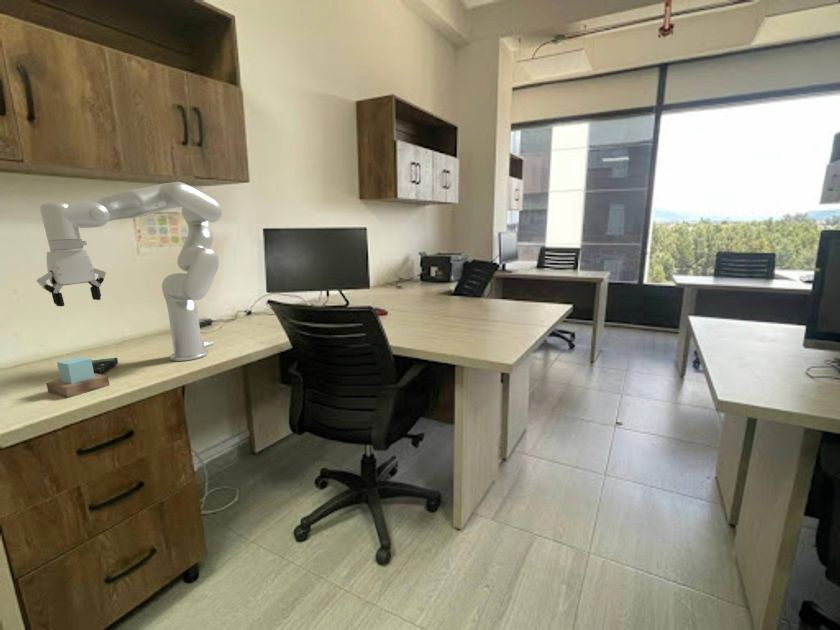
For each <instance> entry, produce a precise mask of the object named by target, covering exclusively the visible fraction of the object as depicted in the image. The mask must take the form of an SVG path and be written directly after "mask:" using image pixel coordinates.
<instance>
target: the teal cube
mask: <svg viewBox="0 0 840 630" xmlns="http://www.w3.org/2000/svg"><path fill="white" fill-rule="evenodd" d="M56 364H57V368H58V373H59V378H60V379H61V381H62V382H66V383H70V384H73V383H77V382H80V381H84V380H87V379H91V378H95V376H94V371H93V366H92V358H89V357H84V356H77V357H73V358H68V359H64V360H60V361H57V362H56Z"/></svg>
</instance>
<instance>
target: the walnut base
mask: <svg viewBox="0 0 840 630" xmlns="http://www.w3.org/2000/svg"><path fill="white" fill-rule="evenodd" d="M94 376H95V378H91V379H87V380H84V381H80V382H77V383H73V384H70V383H66V382H62V381H61V379H56V380H55V379H54V380H52V381H48V382H46V388H47V392H48V393H49V394H51V395H52V394H53V395H56V396H60V397H63V398H65V399H69V398H72V397H76V396H79V395H82V394H86V393H88V392H92V391H96V390H98V389H102V388H105V387H108V386H110V378H109V375H105V374H104V375H101V374H97V373H94Z"/></svg>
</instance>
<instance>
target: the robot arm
mask: <svg viewBox="0 0 840 630" xmlns="http://www.w3.org/2000/svg"><path fill="white" fill-rule="evenodd" d="M176 208H181V214H182V217H183V220H185V223H186V225H187V227H188V228H187V229H188V233H187V236H186V240H185V241H184V243H183V245H182V248H181V250H180V251H179V254H178V257H177V261H176V262H177V266H178V267H179V269H180V270H182V271H183V272H186V273H180V272H178V273H177V272H175V273H171V274H168V275H167V276H166V277H164V279H163V281H162V284H161V291H162V294H163V297H164V299H165V303H166V308H167V313H168V318H169V319H168V320H169V327H170V334H171V341H172V346H173V347H172V348H173V353H171V354H170V355H169V359H170V360H171V361H174V362H184V361H193V360H197V359H200V358H204V357H205V356H208V350H207V348H209V347H213V346H214V341H212V340H211V341H207V342H206V341H202V336H201V329H200V328H201V327H200V320H199V319H200V318H199V310H198V306H197V303H196V301H200V300H202V299H203V298H204V297H206V295H207V294H208V292H209V290H210V287H211V285H212V283H213V281H214V278H215V277H216V274H217V272H218V269H219V266H220V265H219V263H220V262H219V261H220V260H219V256H218V254H217V253H216V252H215V250H214V249H212V248H211V246H212V245H213V241H214V233H213V230H212V228H211V225H210V224H212V223H216V222H218V221H219V220H220V219H221V217H222V215H223V214H222V213H223V209H222V207H221V205H220V203H218V201H216V199H214V198H212V197H210V196H208V195H207V194H205V193H204V192H202V191H200V190H198V189H196V188H194V186H191V185H189V184H187V183H185V182H182V181H173V182H166V183H161V184H155V185H150V186H145V187H142V188H136V189H132V190H127V191H123V192H119V193H116V194H111V195H108V196H105V197H103V196H102V197H100V198H95V199H90V200H85V201H80V202H75V203H69V202H44V203H42V204H40V206H39V210H40V214H41V219H42V223H43V227H44V231H45V234H46V239H47V244H48V246H49V251H46V269H47V272H46V274H44V275H42V276H41V277H39V278H37V279H36V282H37V283H38V284H39V286H40V287H42V289H44V290H45V291H47V292H48V293H50V294H51V296H52V300H53V303H54V304H55V305H56V307H64V306H65V302H64V297H63V293H62V292H60V291H61V289H62V288H63V287H64V286H71V285H79V284H85V283H87V284H89V285H90V288H89V289H90V293H91V298H92V300H94V301H101V300H102V299H101V296H102V294H101V288H100V287H101V286H102V283H103V282H104V280H105V277H106V274H107V273H106V271H104V270H102V269H101V270H100V269H97V268H95V267H94V266H93V264H92V261H91V258H90V255H89V254H88V252H87V249H84V246H87V241H86V240H82V238H81V234H80V230H79V229H88V228H100V227H103V226H105V225H106V224H107V223H108V222H111V221H117V220H123V219H125V220H126V219H136V218H140V217H144V216H147V215H151V214H155V213H160V212H163V211H167V210H170V209H176ZM95 274H97V275H98V276H97V277H96V275H95ZM47 281H49V283H50V285H49V284H48V282H47Z"/></svg>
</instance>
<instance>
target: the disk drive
mask: <svg viewBox="0 0 840 630" xmlns="http://www.w3.org/2000/svg"><path fill="white" fill-rule="evenodd" d="M91 360H92V359H91ZM118 364H119V360H118V357H112V358H111V357H110V358H109V357H108V358H101V359H93V360H92V366H93V371H94V373H97V374H101V375H105V374H106V373H107V372H109V371H110V370H111V369H113V368H114V367H116V366H117V365H118Z"/></svg>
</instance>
